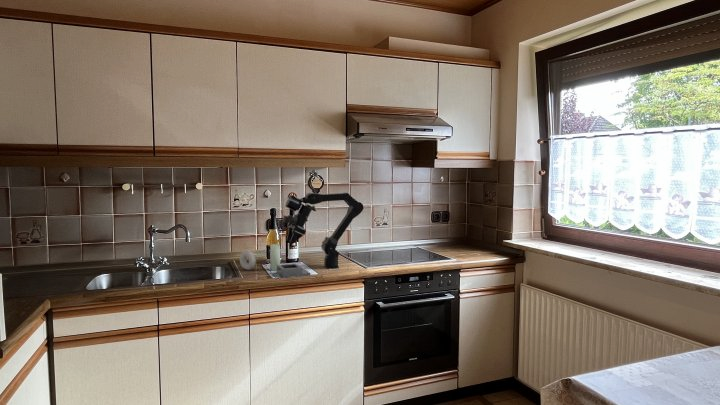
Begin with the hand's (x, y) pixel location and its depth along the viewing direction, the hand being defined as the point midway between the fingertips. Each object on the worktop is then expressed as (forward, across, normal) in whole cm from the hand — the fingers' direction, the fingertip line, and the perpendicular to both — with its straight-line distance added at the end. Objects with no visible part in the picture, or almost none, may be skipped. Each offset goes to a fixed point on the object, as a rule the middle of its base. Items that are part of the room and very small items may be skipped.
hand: (289, 242), depth 230 cm
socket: (+12, +9, +7) cm, 17 cm away
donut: (+22, -6, -11) cm, 25 cm away
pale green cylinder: (+16, -2, 0) cm, 16 cm away
